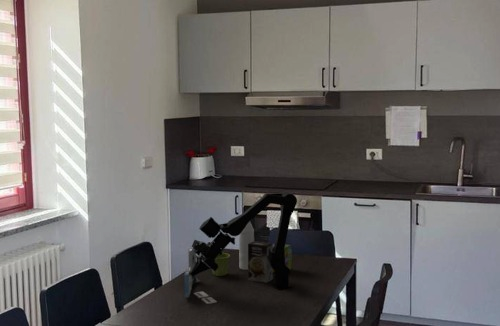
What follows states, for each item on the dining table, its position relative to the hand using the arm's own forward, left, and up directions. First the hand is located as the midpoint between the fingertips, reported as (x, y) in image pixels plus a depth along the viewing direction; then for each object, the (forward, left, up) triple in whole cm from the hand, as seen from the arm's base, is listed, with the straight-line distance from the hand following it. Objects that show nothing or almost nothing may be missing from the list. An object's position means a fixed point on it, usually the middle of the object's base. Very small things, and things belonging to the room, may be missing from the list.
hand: (191, 274), depth 250 cm
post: (+15, -6, -8) cm, 18 cm away
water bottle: (+22, -36, -8) cm, 43 cm away
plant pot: (+19, -21, -8) cm, 29 cm away
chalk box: (+11, -47, -8) cm, 49 cm away
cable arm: (+3, 0, -7) cm, 7 cm away
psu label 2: (-12, -2, -8) cm, 14 cm away
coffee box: (+3, -33, -8) cm, 34 cm away
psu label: (-4, -2, -8) cm, 9 cm away
